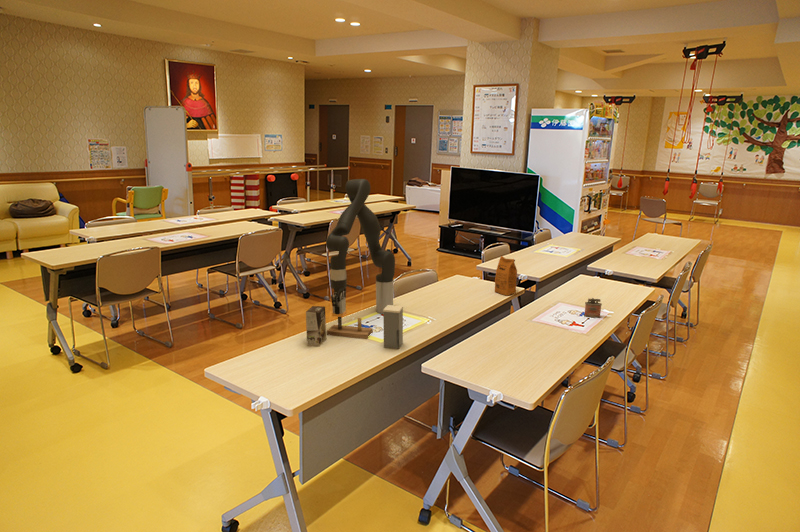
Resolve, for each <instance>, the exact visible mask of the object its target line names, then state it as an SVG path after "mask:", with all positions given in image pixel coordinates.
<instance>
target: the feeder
mask: <svg viewBox="0 0 800 532" xmlns="http://www.w3.org/2000/svg"><path fill="white" fill-rule="evenodd" d="M403 308H404V306H403V305H394V304H393V305H387V306H386V307H385V308H384V310H383V315H382V316H383V348H385V349H394V350H395V349H396V350H399V349H401V347H402V345H403V344H404V339H403V337H404V333H403V332H404V326H403V325H404V320H403V319H404V309H403Z"/></svg>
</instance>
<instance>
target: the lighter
mask: <svg viewBox="0 0 800 532" xmlns="http://www.w3.org/2000/svg"><path fill="white" fill-rule="evenodd" d="M602 305H603V304H602V303H601V298H594V297H591V298H588V299H587V301H585V307H584V314H583V316H584V317H585V318H591V319H600V318H601V310H602Z"/></svg>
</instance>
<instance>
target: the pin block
mask: <svg viewBox="0 0 800 532" xmlns="http://www.w3.org/2000/svg"><path fill="white" fill-rule="evenodd" d="M342 318H343V317H337V324H333V325H332V326H331V327H330V328H328V329H326V336H333V337H345V338H354V339H362V340H367V339H368V338H369V337H370V336H371V335H372V334H373V331H374V330H373V329H374V328H372V327H363V326H362V323H363V322H362V318H361V317H358V318H357V326H351V325H343V323H342V321H343V319H342ZM371 333H372V334H371ZM370 334H371V335H370ZM369 335H370V336H369ZM368 336H369V337H368Z"/></svg>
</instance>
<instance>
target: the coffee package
mask: <svg viewBox="0 0 800 532" xmlns="http://www.w3.org/2000/svg"><path fill="white" fill-rule="evenodd" d="M515 261H516V259H514V258H505V257H504V256H503V255H501V256H500V258H499V260H498V265H497V267H496V270H495V278H494V293H498V294H499V295H502V296H510V295H513V294H516V292H517V279H518V275H517V274H518V269H517V267H516V264H515Z"/></svg>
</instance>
